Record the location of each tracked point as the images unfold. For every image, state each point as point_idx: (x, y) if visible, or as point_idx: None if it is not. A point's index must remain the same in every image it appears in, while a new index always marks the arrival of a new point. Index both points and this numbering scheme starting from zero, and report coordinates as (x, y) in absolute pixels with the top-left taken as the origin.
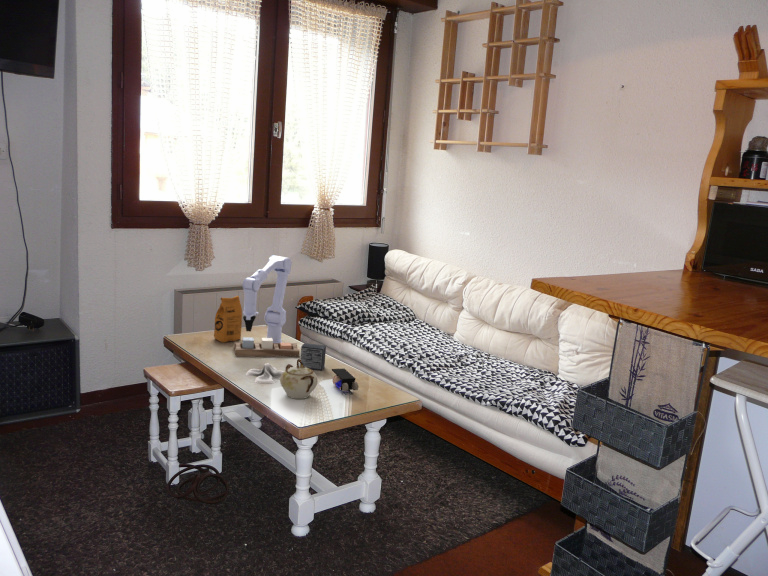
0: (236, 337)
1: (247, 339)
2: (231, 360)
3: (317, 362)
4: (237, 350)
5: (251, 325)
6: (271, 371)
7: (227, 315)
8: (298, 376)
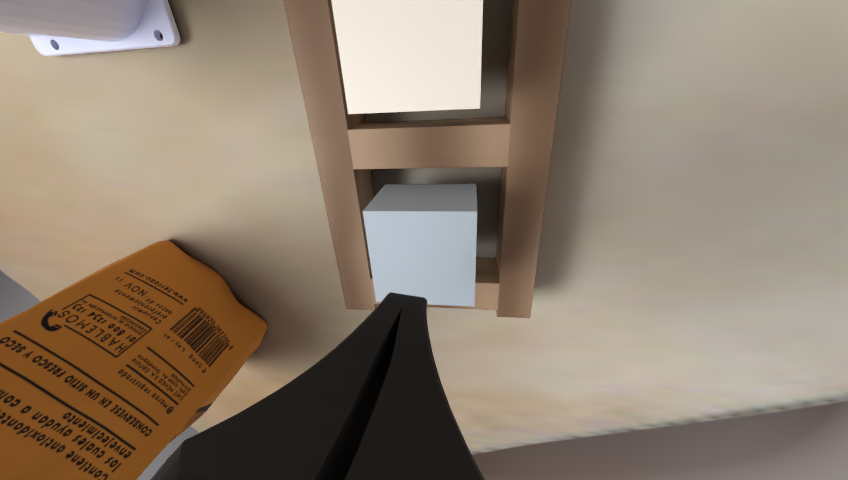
0: (192, 275)
1: (443, 269)
2: (626, 314)
3: None
4: (530, 300)
5: (430, 370)
6: None
7: None
8: None
